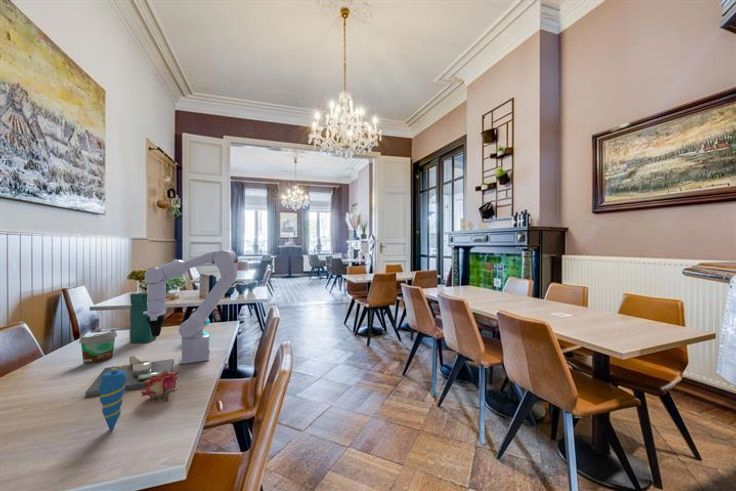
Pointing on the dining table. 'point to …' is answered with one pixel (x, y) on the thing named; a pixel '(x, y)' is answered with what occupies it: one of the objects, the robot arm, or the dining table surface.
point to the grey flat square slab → (132, 376)
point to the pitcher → (139, 319)
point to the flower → (160, 385)
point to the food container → (98, 347)
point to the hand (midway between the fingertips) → (156, 335)
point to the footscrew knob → (140, 366)
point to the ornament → (112, 395)
